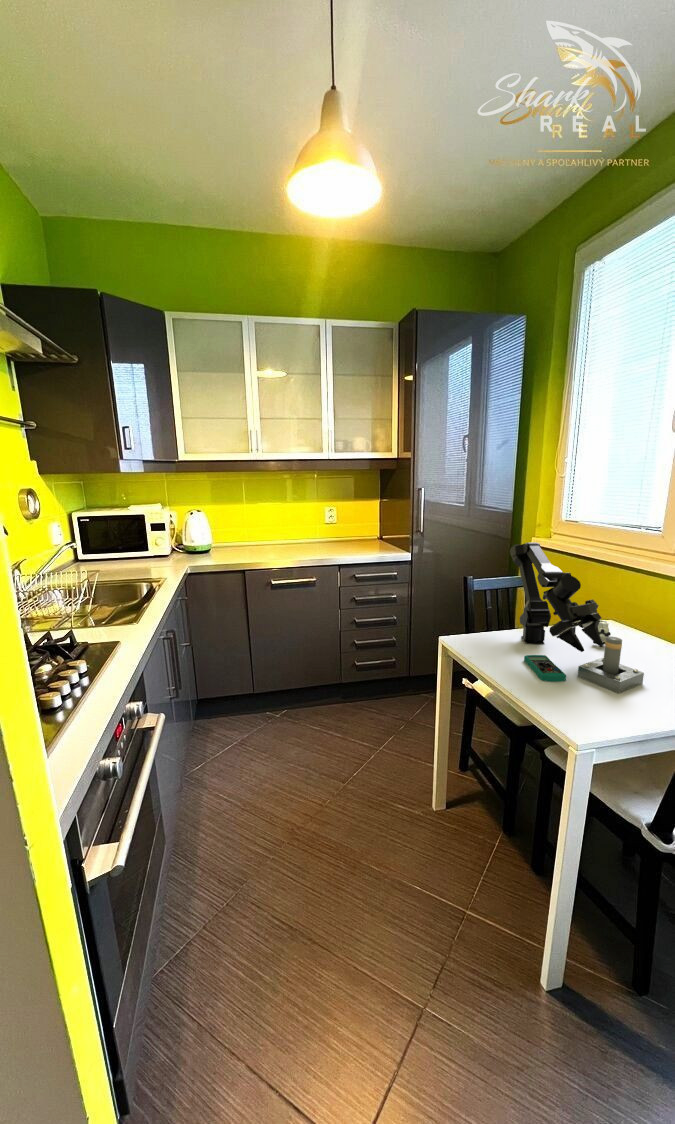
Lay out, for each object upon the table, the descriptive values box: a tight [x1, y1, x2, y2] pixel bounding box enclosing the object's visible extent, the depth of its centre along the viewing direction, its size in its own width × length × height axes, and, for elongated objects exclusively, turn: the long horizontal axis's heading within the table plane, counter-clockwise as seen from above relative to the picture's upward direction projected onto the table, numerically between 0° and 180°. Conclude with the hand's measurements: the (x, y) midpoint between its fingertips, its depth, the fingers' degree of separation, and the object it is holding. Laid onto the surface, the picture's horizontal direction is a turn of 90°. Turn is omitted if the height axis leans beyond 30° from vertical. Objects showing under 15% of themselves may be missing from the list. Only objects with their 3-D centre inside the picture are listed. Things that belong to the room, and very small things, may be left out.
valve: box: [592, 619, 612, 648], centre depth 155 cm, size 7×7×12 cm
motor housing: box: [577, 657, 645, 694], centre depth 125 cm, size 12×12×4 cm
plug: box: [602, 635, 623, 675], centre depth 125 cm, size 4×4×13 cm
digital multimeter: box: [523, 654, 567, 683], centre depth 132 cm, size 7×15×3 cm, turn 177°
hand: (592, 648), depth 130 cm, fingers open, 9 cm apart
